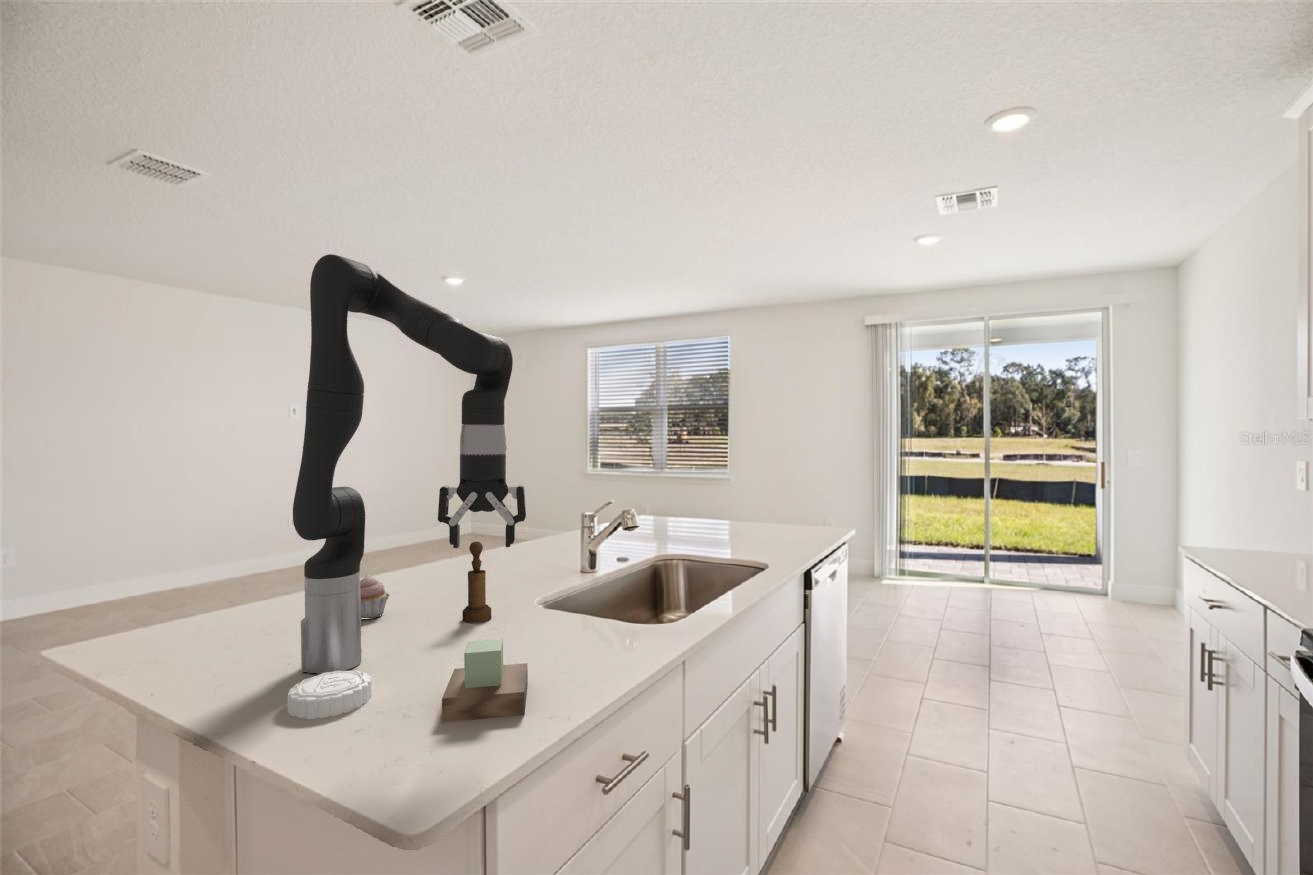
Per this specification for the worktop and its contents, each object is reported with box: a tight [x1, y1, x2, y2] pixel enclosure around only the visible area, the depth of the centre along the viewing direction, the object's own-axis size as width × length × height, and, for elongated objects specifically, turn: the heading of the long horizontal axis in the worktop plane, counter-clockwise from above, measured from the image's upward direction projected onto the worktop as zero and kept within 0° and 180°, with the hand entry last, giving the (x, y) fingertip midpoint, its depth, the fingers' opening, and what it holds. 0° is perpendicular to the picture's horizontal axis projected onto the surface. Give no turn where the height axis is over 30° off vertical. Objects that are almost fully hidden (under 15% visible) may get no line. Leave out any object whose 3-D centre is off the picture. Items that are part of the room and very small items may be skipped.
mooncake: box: [287, 670, 373, 720], centre depth 100 cm, size 12×12×4 cm
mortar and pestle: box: [461, 541, 493, 624], centre depth 144 cm, size 7×6×18 cm
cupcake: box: [360, 574, 391, 619], centre depth 148 cm, size 9×9×10 cm
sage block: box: [463, 638, 504, 688], centre depth 99 cm, size 6×6×6 cm
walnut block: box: [441, 662, 529, 723], centre depth 99 cm, size 12×12×4 cm
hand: (482, 547), depth 105 cm, fingers open, 8 cm apart
